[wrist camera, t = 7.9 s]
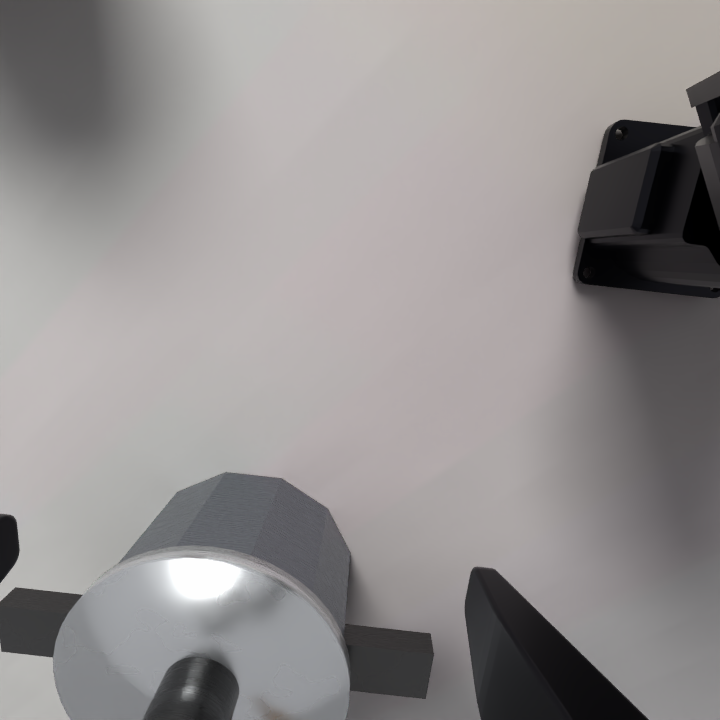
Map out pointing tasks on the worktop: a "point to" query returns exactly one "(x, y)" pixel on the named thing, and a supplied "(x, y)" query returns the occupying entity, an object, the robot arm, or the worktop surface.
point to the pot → (264, 541)
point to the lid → (200, 643)
